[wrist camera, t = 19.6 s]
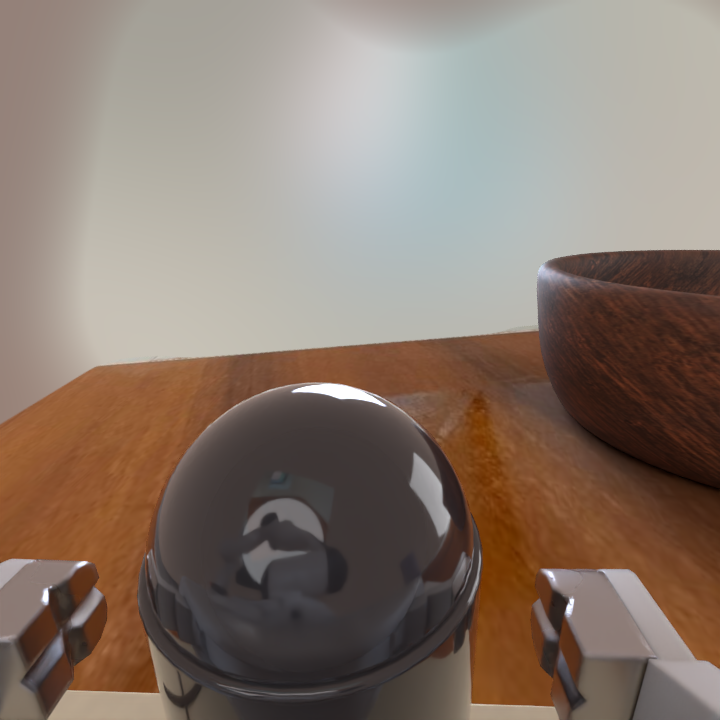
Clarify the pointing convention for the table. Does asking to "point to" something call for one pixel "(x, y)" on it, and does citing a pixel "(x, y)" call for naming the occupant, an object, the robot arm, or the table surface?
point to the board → (146, 716)
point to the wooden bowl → (638, 352)
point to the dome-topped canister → (313, 566)
